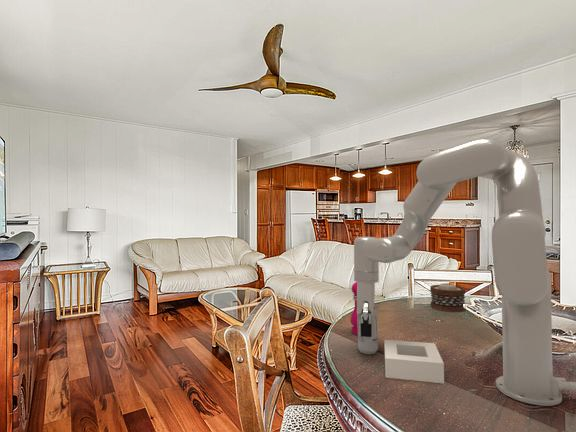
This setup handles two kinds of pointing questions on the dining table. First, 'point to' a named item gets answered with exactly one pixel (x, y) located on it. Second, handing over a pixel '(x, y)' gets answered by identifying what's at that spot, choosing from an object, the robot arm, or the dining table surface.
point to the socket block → (413, 361)
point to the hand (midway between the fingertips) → (366, 331)
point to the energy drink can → (368, 343)
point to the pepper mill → (354, 311)
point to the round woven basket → (447, 297)
